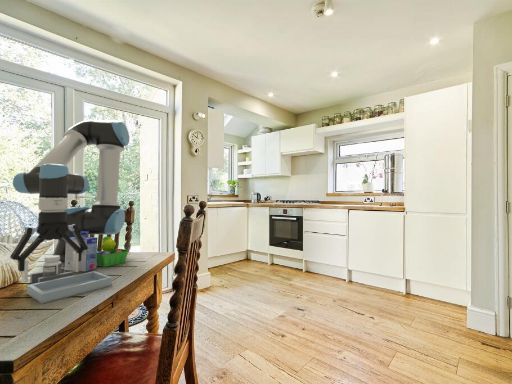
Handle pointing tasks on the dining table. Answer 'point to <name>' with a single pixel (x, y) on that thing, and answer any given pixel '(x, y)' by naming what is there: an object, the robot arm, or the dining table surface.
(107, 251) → the fruit basket
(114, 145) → the robot arm
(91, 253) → the ink cartridge box
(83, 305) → the dining table surface
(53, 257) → the pill bottle
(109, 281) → the parts tray
